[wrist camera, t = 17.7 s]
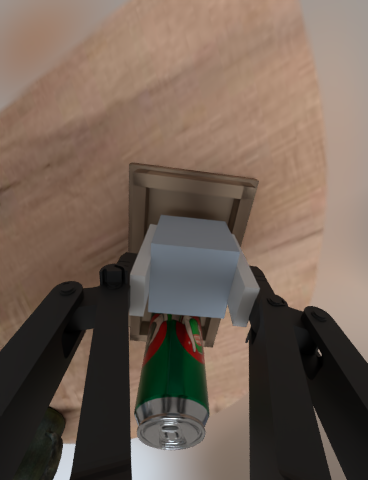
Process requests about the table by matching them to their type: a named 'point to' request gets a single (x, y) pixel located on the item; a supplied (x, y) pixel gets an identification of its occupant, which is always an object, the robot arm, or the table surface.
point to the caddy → (184, 215)
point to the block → (191, 267)
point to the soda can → (172, 384)
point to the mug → (43, 450)
